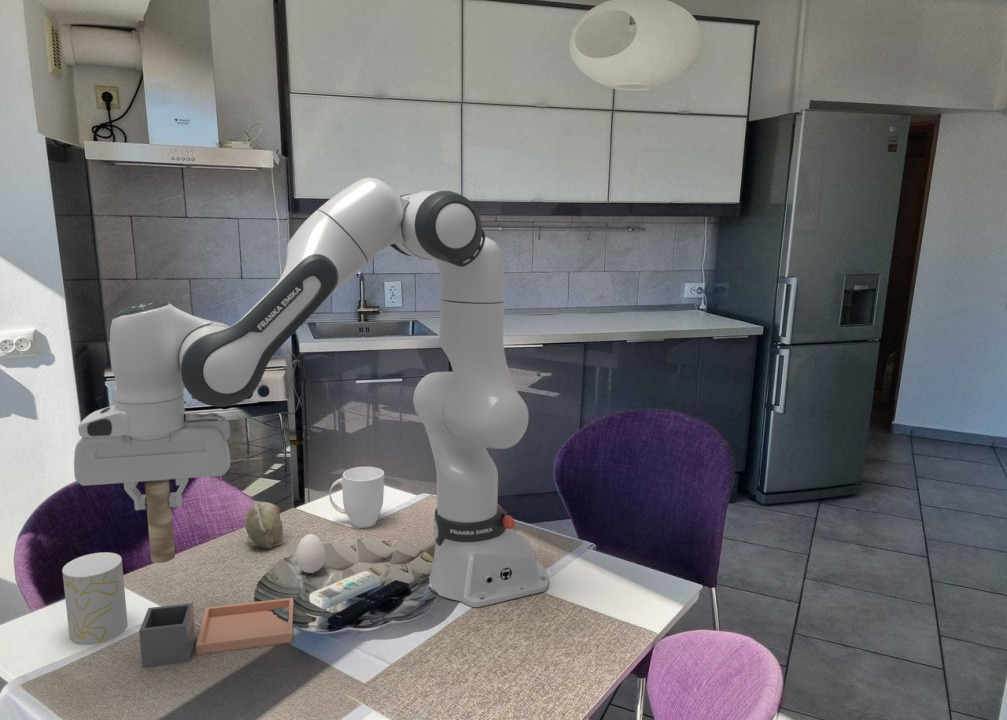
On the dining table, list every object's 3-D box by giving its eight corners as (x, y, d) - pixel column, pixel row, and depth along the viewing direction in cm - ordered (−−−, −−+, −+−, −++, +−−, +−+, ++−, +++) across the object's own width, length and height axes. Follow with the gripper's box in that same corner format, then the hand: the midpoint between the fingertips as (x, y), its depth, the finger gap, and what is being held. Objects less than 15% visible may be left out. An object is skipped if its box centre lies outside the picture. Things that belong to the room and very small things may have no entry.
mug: (385, 514, 162) (385, 465, 159) (383, 532, 154) (382, 480, 151) (333, 515, 161) (332, 465, 158) (327, 533, 152) (326, 481, 150)
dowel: (176, 551, 108) (170, 476, 106) (172, 561, 105) (166, 484, 103) (153, 553, 107) (147, 478, 105) (149, 563, 104) (142, 486, 102)
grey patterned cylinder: (62, 651, 110) (54, 579, 107) (78, 622, 117) (71, 555, 115) (121, 644, 112) (114, 573, 109) (132, 616, 119) (127, 550, 117)
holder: (195, 640, 113) (193, 602, 112) (189, 665, 107) (186, 625, 106) (151, 646, 111) (148, 607, 110) (142, 671, 105) (139, 630, 104)
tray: (293, 608, 123) (293, 597, 122) (292, 645, 112) (291, 633, 112) (206, 618, 119) (205, 607, 119) (196, 657, 109) (196, 645, 108)
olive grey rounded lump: (264, 563, 143) (255, 528, 138) (235, 547, 147) (226, 511, 142) (298, 534, 150) (291, 499, 145) (270, 519, 154) (262, 484, 149)
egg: (308, 582, 132) (307, 543, 130) (290, 573, 135) (289, 535, 133) (331, 571, 136) (330, 534, 134) (313, 563, 139) (312, 526, 138)
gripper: (230, 406, 107) (236, 493, 110) (79, 414, 102) (88, 504, 105) (226, 418, 101) (232, 509, 104) (65, 426, 96) (75, 522, 99)
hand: (158, 507), depth 104 cm, fingers closed on dowel, 3 cm apart
